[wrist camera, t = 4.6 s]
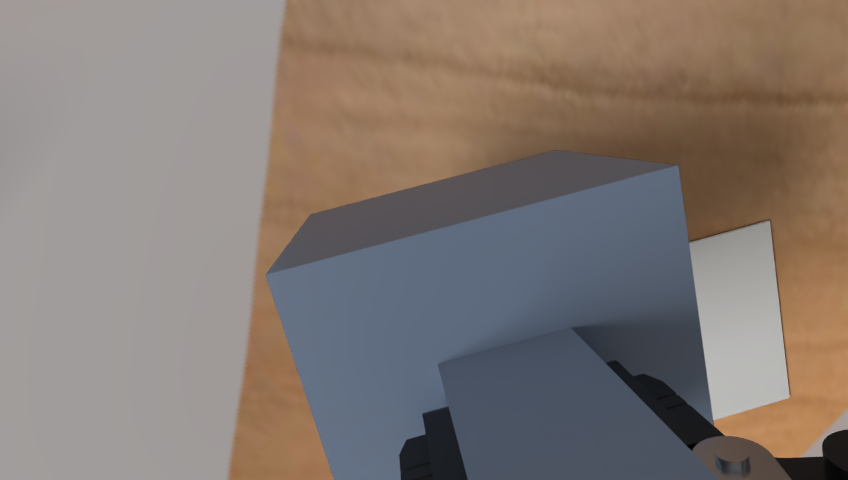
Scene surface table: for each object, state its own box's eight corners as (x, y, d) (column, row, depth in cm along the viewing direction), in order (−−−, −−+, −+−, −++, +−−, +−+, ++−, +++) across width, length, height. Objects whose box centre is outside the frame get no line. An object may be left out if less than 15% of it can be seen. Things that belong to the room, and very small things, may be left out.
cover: (310, 214, 21) (166, 408, 6) (555, 149, 21) (938, 197, 7) (377, 434, 23) (382, 942, 9) (598, 373, 24) (951, 762, 9)
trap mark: (578, 273, 31) (579, 273, 31) (767, 220, 32) (769, 221, 31) (613, 447, 34) (614, 449, 33) (787, 396, 34) (789, 397, 34)
